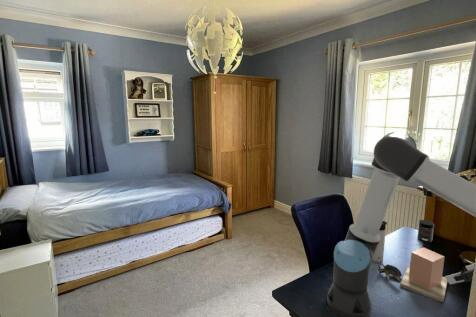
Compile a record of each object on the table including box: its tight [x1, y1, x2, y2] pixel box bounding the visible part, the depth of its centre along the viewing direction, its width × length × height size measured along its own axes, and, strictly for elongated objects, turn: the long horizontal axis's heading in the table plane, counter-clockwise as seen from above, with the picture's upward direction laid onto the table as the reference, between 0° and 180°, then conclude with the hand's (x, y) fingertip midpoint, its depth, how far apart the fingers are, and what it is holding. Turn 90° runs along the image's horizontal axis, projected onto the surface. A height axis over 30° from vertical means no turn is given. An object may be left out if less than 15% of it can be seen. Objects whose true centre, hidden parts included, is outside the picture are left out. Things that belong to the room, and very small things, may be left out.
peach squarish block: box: [409, 247, 445, 290], centre depth 107 cm, size 8×8×12 cm
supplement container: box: [417, 219, 435, 244], centre depth 142 cm, size 7×7×10 cm
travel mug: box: [372, 220, 388, 264], centre depth 124 cm, size 6×7×20 cm
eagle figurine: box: [377, 262, 403, 283], centre depth 113 cm, size 8×7×9 cm
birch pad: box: [399, 265, 449, 303], centre depth 108 cm, size 16×14×2 cm
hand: (458, 275), depth 97 cm, fingers open, 13 cm apart
